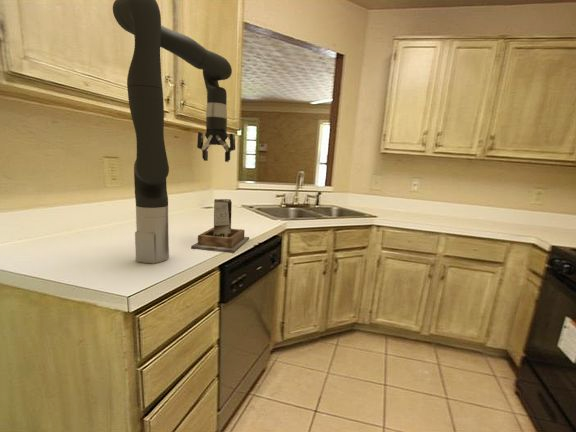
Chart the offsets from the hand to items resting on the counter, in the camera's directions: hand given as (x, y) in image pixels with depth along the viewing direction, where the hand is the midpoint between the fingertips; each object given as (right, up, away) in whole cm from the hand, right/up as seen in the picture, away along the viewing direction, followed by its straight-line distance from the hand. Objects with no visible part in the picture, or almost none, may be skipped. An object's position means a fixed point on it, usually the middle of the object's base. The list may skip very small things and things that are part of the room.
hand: (216, 161), depth 117 cm
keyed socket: (+2, -32, +3) cm, 32 cm away
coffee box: (+2, -31, +2) cm, 31 cm away
